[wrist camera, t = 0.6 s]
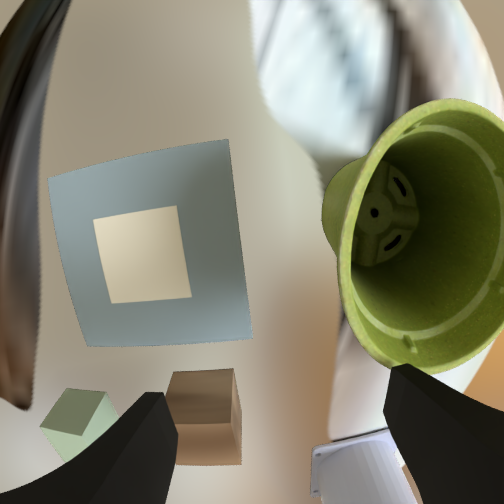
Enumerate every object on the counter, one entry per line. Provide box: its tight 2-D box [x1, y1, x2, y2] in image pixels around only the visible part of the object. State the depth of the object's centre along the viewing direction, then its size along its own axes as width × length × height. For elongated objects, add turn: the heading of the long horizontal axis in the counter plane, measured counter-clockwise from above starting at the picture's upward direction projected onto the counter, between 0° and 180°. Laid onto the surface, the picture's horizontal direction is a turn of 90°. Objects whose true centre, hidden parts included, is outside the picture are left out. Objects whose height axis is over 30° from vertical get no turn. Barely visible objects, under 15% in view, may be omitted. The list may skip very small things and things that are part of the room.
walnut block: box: [165, 368, 242, 466], centre depth 16 cm, size 4×4×5 cm
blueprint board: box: [48, 139, 253, 347], centre depth 16 cm, size 11×11×1 cm
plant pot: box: [322, 98, 504, 375], centre depth 12 cm, size 9×9×9 cm
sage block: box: [40, 388, 119, 462], centre depth 17 cm, size 4×4×5 cm
